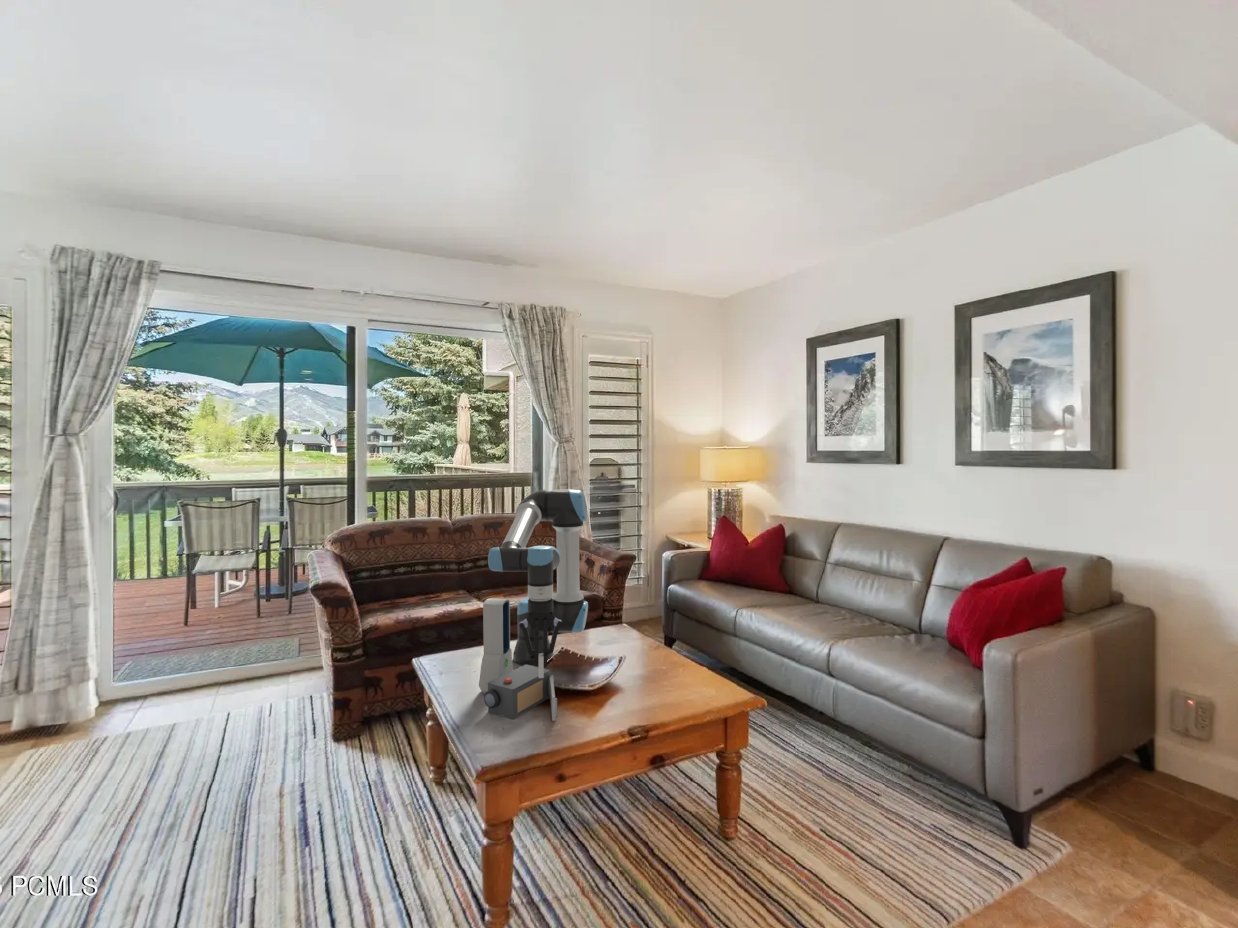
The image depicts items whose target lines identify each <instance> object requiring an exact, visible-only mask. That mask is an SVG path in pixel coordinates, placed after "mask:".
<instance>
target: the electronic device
mask: <svg viewBox="0 0 1238 928" xmlns="http://www.w3.org/2000/svg"><path fill="white" fill-rule="evenodd" d="M510 606H511V601H510V599H508V598H493V597H491V598H487V599H485V600H484V602H483V604H482V610H483V612H482V614H483V615H482V616H483V617H482V618H483V619H482V620H483V621H482V624H483V625H482V627H483V629H482V631H483V632H482V633H483V637H482V638H483V654H482V658H481V664H480V672H479V681H478V687H479V689H480V690H481V692H482V694H485V693H486V692H487V691H488V682H490V681H492V680H495V679H497V678H499V677H501V676H503V675H505V674H507V673H509V672H511V671H513V670H514V669H513V651H512V648H511V616H510V615H511V611H510V610H511V607H510Z"/></svg>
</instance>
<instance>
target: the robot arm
mask: <svg viewBox="0 0 1238 928" xmlns="http://www.w3.org/2000/svg"><path fill="white" fill-rule="evenodd" d="M513 519H514V520H513V522H512V524H511V526H510V527H509V529H508V531H507V534H506V536H505V538H504V540H503V542H502V544H501V546H497V547H492V548H490V549H489V551H488V556H487V564H488V568H489V570H490V571H492V572H501V573H504V572H518V573H519V572H522V573H523V572H524V573H526V572H527V597H525V598H523V599H521V600H520V601H519V602H518V604H517V612H516V615H517V616H516V617H517V641H516V643H515V647H514V651H513V652H512V661H513V662H514V663H516V664H518V665H521V666H524V665H526V664H527V665H531V666H535V667H538V675H539V678H544V669H545V668H544V667H545V666H548V662H547V660H548V659H550V658H551V657H552V656H553V657H554V650H555V646H556V643H557V637H558V633H567V634H576V633H582V632H583V631H584V629H585V628H586V627H585V626H586V623H587V617H588V612H589V602H588V601H586V600H585V599H584V597H585V596H584V594H583V593H581V589H580V586H581V585H580V584H581V583H580V582H581V581H580V580H581V579H580V578H581V577H580V575H581V574H580V530H581V528H582V527H584V522H586V521H587V520H588V506H587V501H586V497H585V494H584V492H583V491H582V490H580V489H579V490H578V489H540V490H537V491H534V492H532V493H531V494H529V495H527V496H526V497H525V498H523V500H522V501H520V502H519V504H518V506H517V507H516V509H515V518H513ZM540 521H541V522H543V521H544V522H545V521H546V522H551V527H552V528H553V529H554V530H555V532H556V534H555V537H556V547H555V546H551V545H534V546H530V547H527V545H528V543H529V540H530V538H531V536H532V533H533V531H534V529H535V526H537V525H538V524H539V523H540ZM554 570H556V593H555V594H554ZM549 633H552V635H551V640H550V638H549Z"/></svg>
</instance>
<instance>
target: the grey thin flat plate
mask: <svg viewBox="0 0 1238 928" xmlns="http://www.w3.org/2000/svg"><path fill="white" fill-rule="evenodd" d="M554 677H555V675H554V674H550V676H549V700H550V702H549V703H550V710H551V712H550V713H551V720H552V722H555V721H556V717H557V716H558V697H556V693H555V682H554V681H555V679H554Z"/></svg>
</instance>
